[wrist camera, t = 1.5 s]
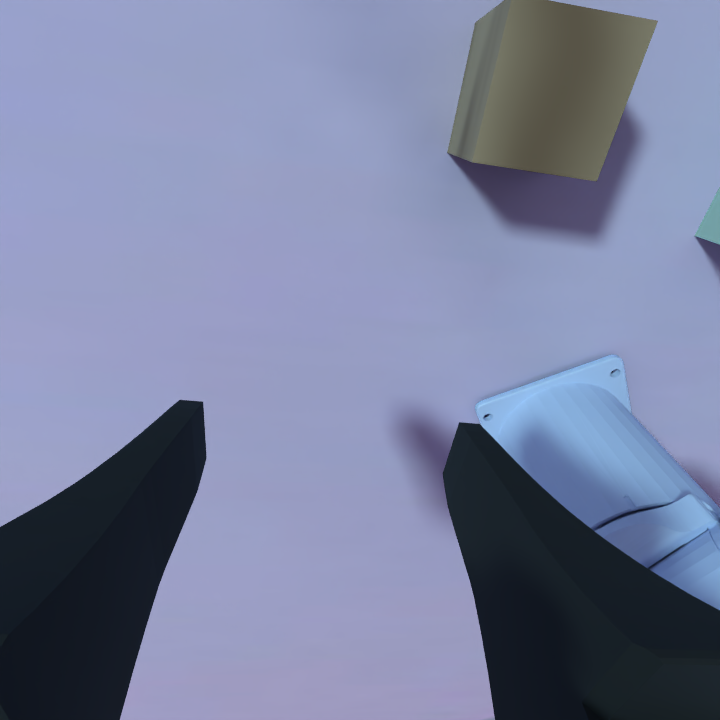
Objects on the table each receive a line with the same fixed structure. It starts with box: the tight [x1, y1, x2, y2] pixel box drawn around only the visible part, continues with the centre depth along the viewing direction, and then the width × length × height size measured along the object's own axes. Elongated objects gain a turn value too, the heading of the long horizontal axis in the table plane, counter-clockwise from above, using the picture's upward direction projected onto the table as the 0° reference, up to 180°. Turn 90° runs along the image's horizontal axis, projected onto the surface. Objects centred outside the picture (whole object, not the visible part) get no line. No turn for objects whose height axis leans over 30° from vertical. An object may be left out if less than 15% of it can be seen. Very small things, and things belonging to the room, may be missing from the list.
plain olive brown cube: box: [447, 0, 658, 181], centre depth 15 cm, size 5×4×4 cm
